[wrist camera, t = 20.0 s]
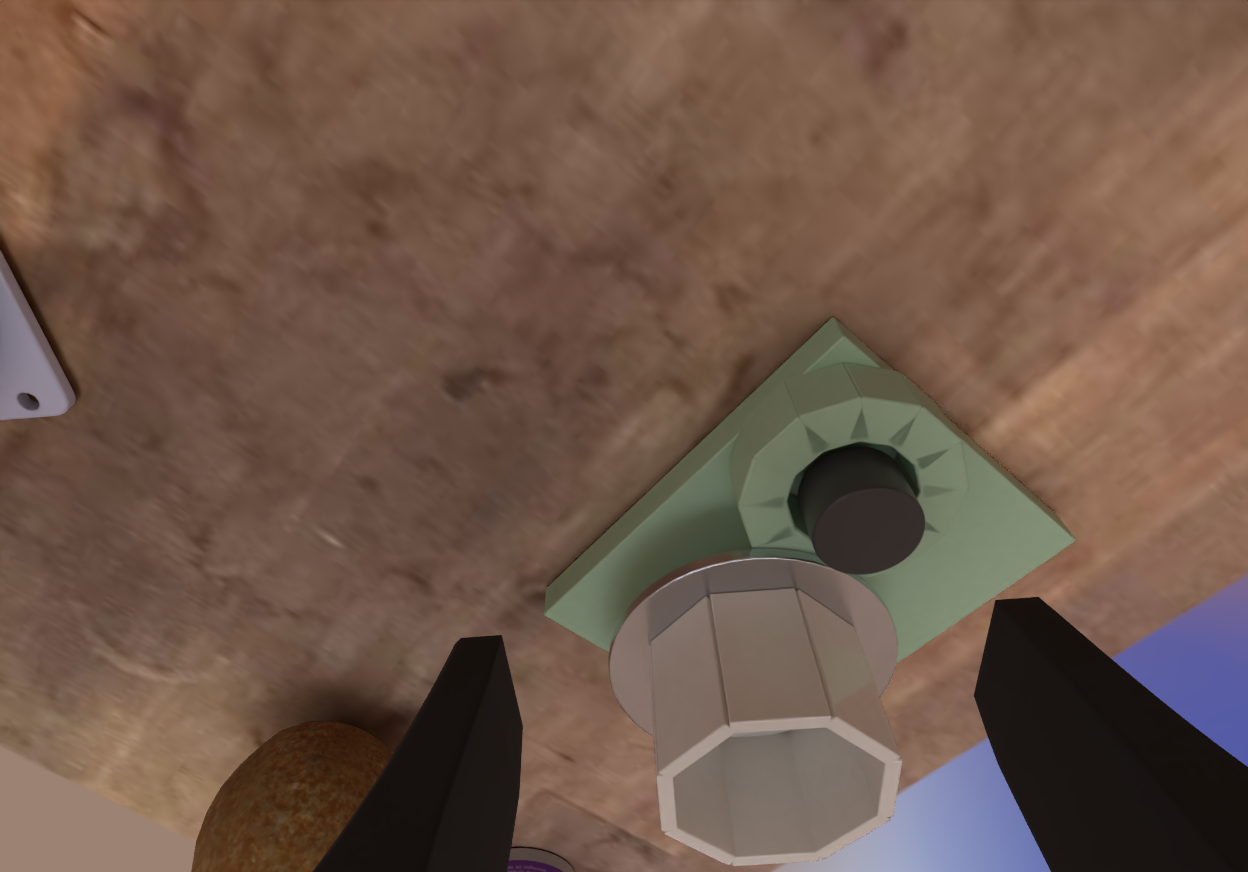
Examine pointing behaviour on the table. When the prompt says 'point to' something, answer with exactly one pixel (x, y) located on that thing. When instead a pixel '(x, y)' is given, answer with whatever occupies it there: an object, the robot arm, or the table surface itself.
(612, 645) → the scale pan
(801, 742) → the bowl
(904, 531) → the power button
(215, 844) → the fruit
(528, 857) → the container
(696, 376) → the table surface
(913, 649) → the scale
